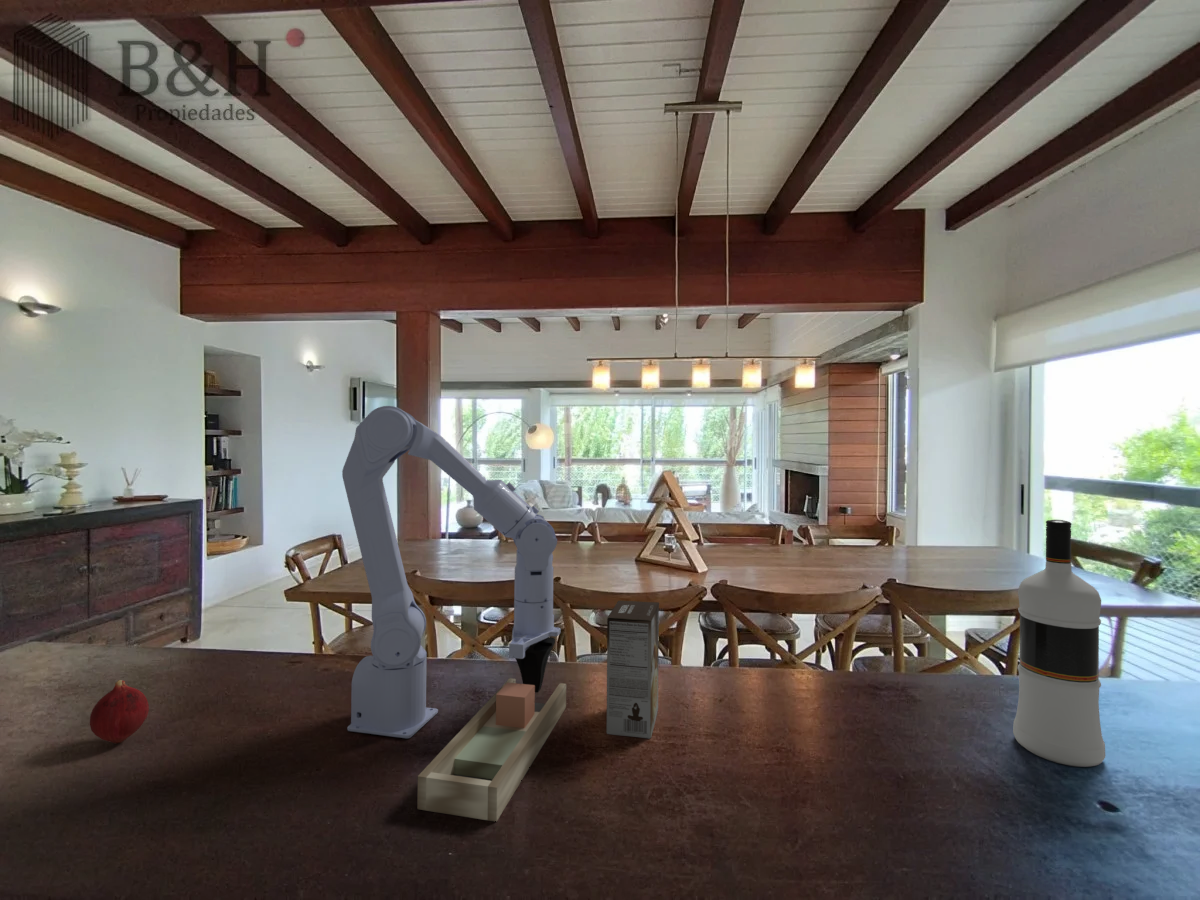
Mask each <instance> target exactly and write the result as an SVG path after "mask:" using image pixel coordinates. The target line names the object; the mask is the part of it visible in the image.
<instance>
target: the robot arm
mask: <svg viewBox="0 0 1200 900" xmlns="http://www.w3.org/2000/svg"><path fill="white" fill-rule="evenodd" d="M407 452H408V453H407ZM406 453H407V455H408V456H412V457H417V458H421V459H424V460H429V461H431V462H432V463H433V464H435V466H437V467H439V469H440V470H442V471H443V472H444V473H445V474H446V475H448V477H450V478H451V479H452V480H454V481H455V482H456V483H457V484H459V485H460V486H461V487H462V488H463V489H464V490H465V491H467V492H468V494H471V496H472V498H473V510H474V511H475V512H476V513H478V514H479V515H480V516H481V517H483V518H484V520H486V521H487V523H489V524H490V525H491V526H493V528H494V529H495V530H497V531H498V532H500V534H501V535H502V536H503V537H505V538H510V539H512V541H513V543H514V546H516V561H515V562H516V563H515V564H516V565H515V567H514V590H513V591H514V596H513V597H514V601H513V627H512V631H511V632H512V634H511V640H510V643H509V644H508V658H511V659H515V660H516V663H517V666H518V668H519V673H520V677H521V680H522V681H521V682H522V684H528V685H535V694H536V693H537V694H538V693H539V692H540V691H541V690H542V689H541V688H542V687H543V682H544V678H545V672H546V668H547V664H548V659H549V657H550V654H551V652H552V649H553V647H554V646H555V643H556V639H555V638H554V637H558V636H560V634H561V633H562V632H561V628H560V627H558V626H557V627H555V615H554V568H555V567H554V566H553V561H554V554H553V552H554V551H555V550H556V548H557V545H558V538H557V535H556V532H555V529H554V527H553V526H552V524H550V523H549V522H548V520H547V519H545V517H544V516H543V515H541V514H539V512H540V510H539V509H538V507H536V506H535V505H533V506H531V505H529V504H528V502H526V500H524V499H523V498H522V497H521V496H519V495H518V493H516V492H515V490H516V486H514V485H513V484H512V483H511V482H508V483H507V484H506V482H504V481H503V479H487V478H486V477H485V476H484V475H483V474H482V473H481V472H480V471H479V470H478V469H476V468H475V467H474V466H473V465H472V464H471V463H470V461H468V460H467V459H466V458H465V457H464V456H463V455H462V454H461V453H460V452H458V450H456V449H455V448H454V447H453V446H452V444H451V443H449V442H448V441H447V440H446V439H445V438H444V437H443V436H442V435H440V434H439V433H437V432H436V431H434V430H433V429H431V428H430V427H429V426H427V425H425V424H424V423H422V422H420V421H419V420H417V419H415V417H414V416H412V414H410V413H409V412H406V411H404V410H403V409H401V408H400V407H397V406H394V405H382V406H379V407H377V408H375V409H373V410H372V411H370V412H369V413H368V414H367V416H366V417H365V418H364V419H363V420H362V421H361V422H360V423H359V424H358V425H357V426H356V427H355V432H354V438H353V441H352V444H351V447H350V448H349V452H348V455H347V457H346V459H345V463H344V465H343V468H342V471H341V472H342V476H341V477H342V479H343V480H342V481H343V485H344V488H345V492H346V493H345V494H346V496H347V497H346V498H347V502H348V505H349V510H350V513H351V517H352V521H353V526H354V530H355V533H356V538H357V542H358V546H359V549H360V550H359V551H360V556H361V558H362V563H363V566H364V567H363V568H364V571H365V575H366V580H367V583H368V587H369V591H370V595H371V623H372V626H373V633H372V637H371V640H370V651H371V654H372V655H367V656H365V657H363V658H362V659H361V660H360V661H359V663H358V664H357V665H356V667H355V669H354V672H353V675H352V680H351V694H350V695H351V701H350V702H351V703H350V704H351V707H350V708H351V709H350V710H351V713H350V717H351V718H350V724H349V725H348V726H347V732H354V733H360V734H369V735H370V734H371V735H378V736H385V737H393V738H402V739H410V738H412V737H414V735H415V734H416V733H417V732H418V731H419V730H420V729H422V727H424V726H425V725H426V724H427V723H428V722H429V721H430V720H431V719H433V718H434V716H436V715H437V714H438V713H439V709H438V708H436V707H427V655H428V653H427V650H425V648H424V647H423V646H422V643H421V641H422V637H423V636H424V633H425V631H426V627H427V618H426V615H425V613H424V612H423V610H422V609H421V608H420V606H418V604H417V603H416V601H415V597H414V594H413V591H412V590H411V588H410V586H409V583H408V580H407V577H406V571H405V568H404V564H403V560H402V555H401V552H400V551H401V550H400V548H399V543H398V539H397V535H396V529H395V526H394V523H393V518H392V513H391V510H390V506H389V501H388V497H387V493H386V489H385V484H384V479H383V478H384V477H385V476H386V474H387V473H388V472H389V470H390V469H391V468H392V467H393V465H394V463H395V461H397V459H399V458H400V457H401V456H404V454H406Z"/></svg>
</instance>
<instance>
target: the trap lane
mask: <svg viewBox="0 0 1200 900" xmlns="http://www.w3.org/2000/svg"><path fill="white" fill-rule="evenodd" d="M516 680H517V679H516V678H512V677H510V678H508V679H507V681H505V682H504V683H503V685H502V686H501V687H500V688H498V690H497V691H496V692H495V693H494V694H493V695H492V696H491V697H490V698H489V700H488V701H487V702H486V703H485V704H484V705H483V706H482V707H481V708H480V709H478V711H477V712H476V713H475V715H473V716H472V717H471V719H469V721H468V722H467V723H466V724H465V725H464V726H463V727H462V728H461V729H460V731H458V733H456V735H455V736H454V737H453V738H452V739H451V740H449V742H448V743H447V744H446V745H445V746H444V747H443V749H442V750H440V752H439V753H438V754H437V755H436V756H435V757H434V758H433V759H432V760H431V762H429V763H428V765H426V767H425V768H424V769H422V771H421V772H420V773H419V774H418V775H417V802H416V803H417V810H422V811H427V812H434V813H438V814H446V815H452V816H459V817H464V818H471V819H475V820H477V819H478V820H483V821H489V822H495V821H496V822H498V821H499V819H500V817H501V815H502V813H503V812H504V810H505V809H506V807H507V805H508V804H509V803H510V800H511V798H512V797H513V796H514V794H515V792H516V790H517V789H518V787H519V786H520V784H521V782H522V781H523V779H524V777H525V776H526V774H527V773H528V771H529V769H530V768H531V766H532V764H533V763H534V761H535V759H536V758H537V756H538V754H539V753H540V752H541V749H543V746H544V744H545V743H546V741H547V739H548V738H549V736H550V734H551V733H552V731H553V729H554V728H555V726H556V725H557V723H558V721H559V719H560V718H561V716H562V715H563V713H564V712H565V710H566V708H567V683H561V682H560V683H559V684H558V685H557V686H556V688H555V689H554V690H553V693H552V694H551V695H550V696H549V697H548V700H547V701H546V702H545V703H542V702H535V714H534V716H533V717H532V718H531V720H530V721H529V723H528V724H527V725H526V727H525V728H518V727H510V726H502V725H496V694H497V693H498V692H499V691H500V690H501V689H502V688H503V687H504V686H505V685H506V683H507V682H508V683H517V682H516ZM529 767H530V768H529ZM521 780H522V781H521ZM496 822H495V823H496Z"/></svg>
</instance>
